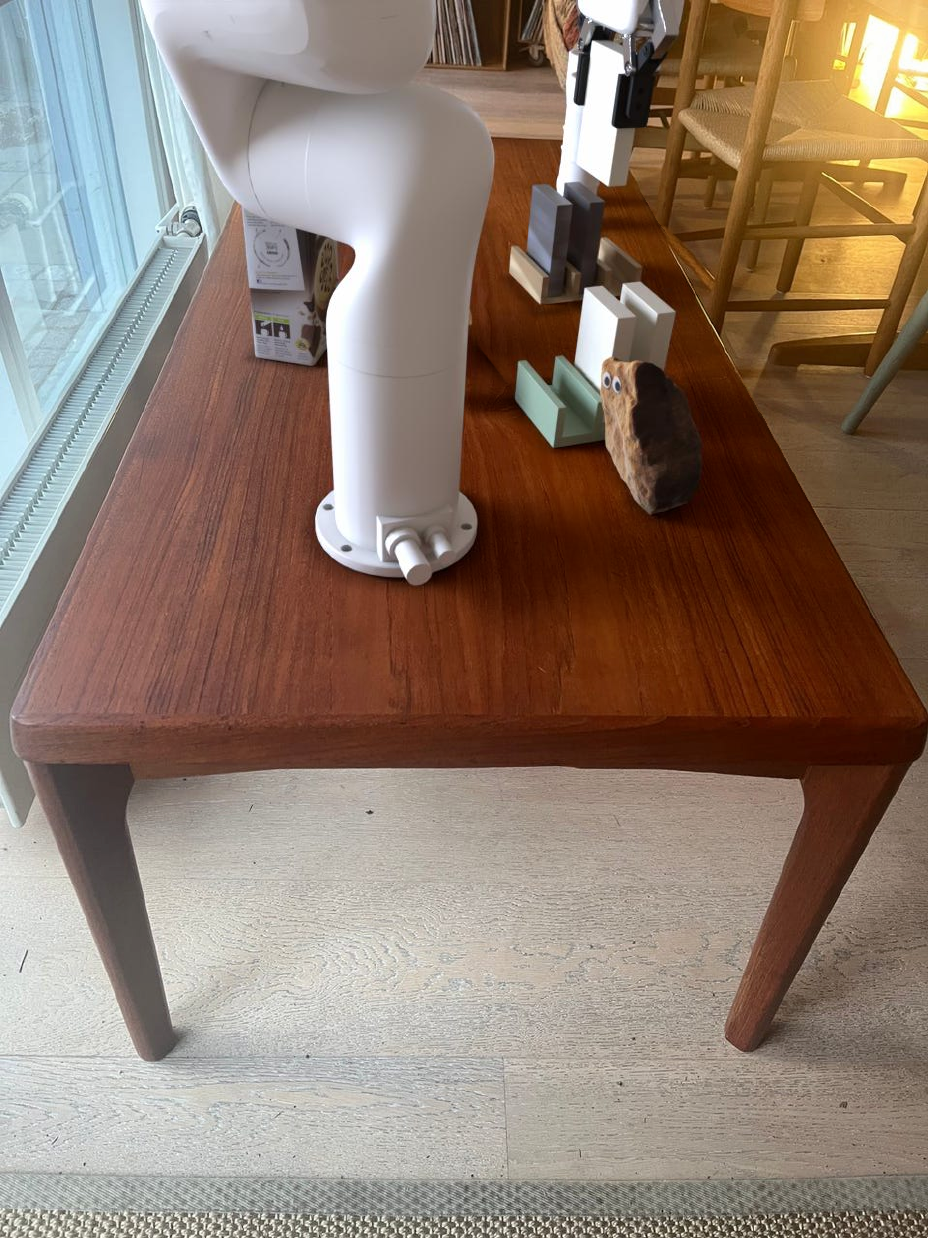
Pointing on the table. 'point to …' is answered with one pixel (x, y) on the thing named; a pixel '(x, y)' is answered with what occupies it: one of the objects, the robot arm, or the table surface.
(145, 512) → the table surface
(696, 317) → the table surface
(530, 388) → the green and white rack
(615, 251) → the wooden rack with slabs
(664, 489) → the decorative rock
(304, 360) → the coffee box
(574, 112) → the binoculars
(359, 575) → the table surface
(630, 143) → the cream book
